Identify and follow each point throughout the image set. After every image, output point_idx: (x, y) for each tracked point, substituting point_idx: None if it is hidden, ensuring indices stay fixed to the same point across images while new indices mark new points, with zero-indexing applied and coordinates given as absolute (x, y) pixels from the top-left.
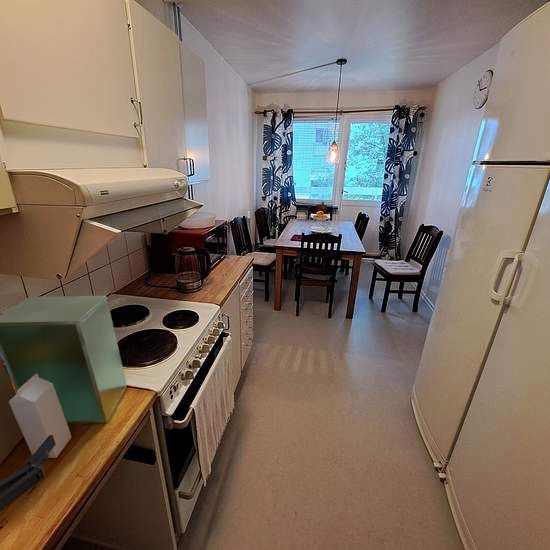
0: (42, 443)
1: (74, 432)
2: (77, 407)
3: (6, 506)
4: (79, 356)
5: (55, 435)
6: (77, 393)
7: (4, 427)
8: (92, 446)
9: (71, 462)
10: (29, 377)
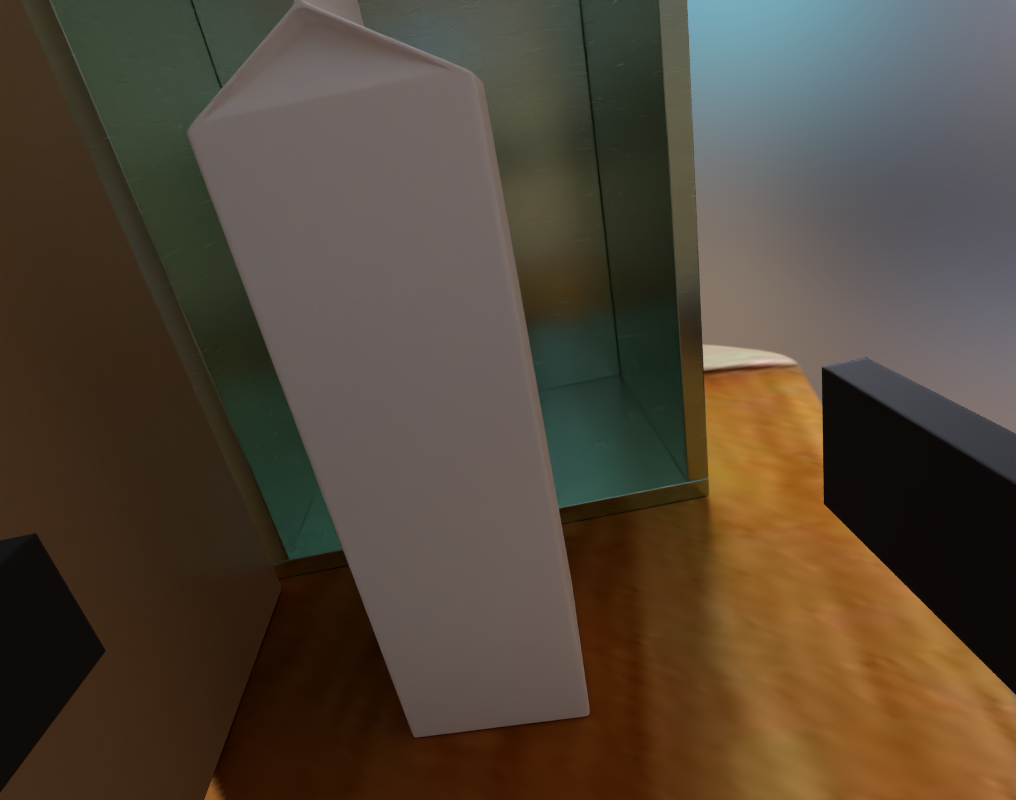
0: (901, 418)
1: None
2: None
3: None
4: None
5: (561, 542)
6: None
7: (159, 544)
8: (774, 612)
9: (742, 730)
10: (214, 272)
